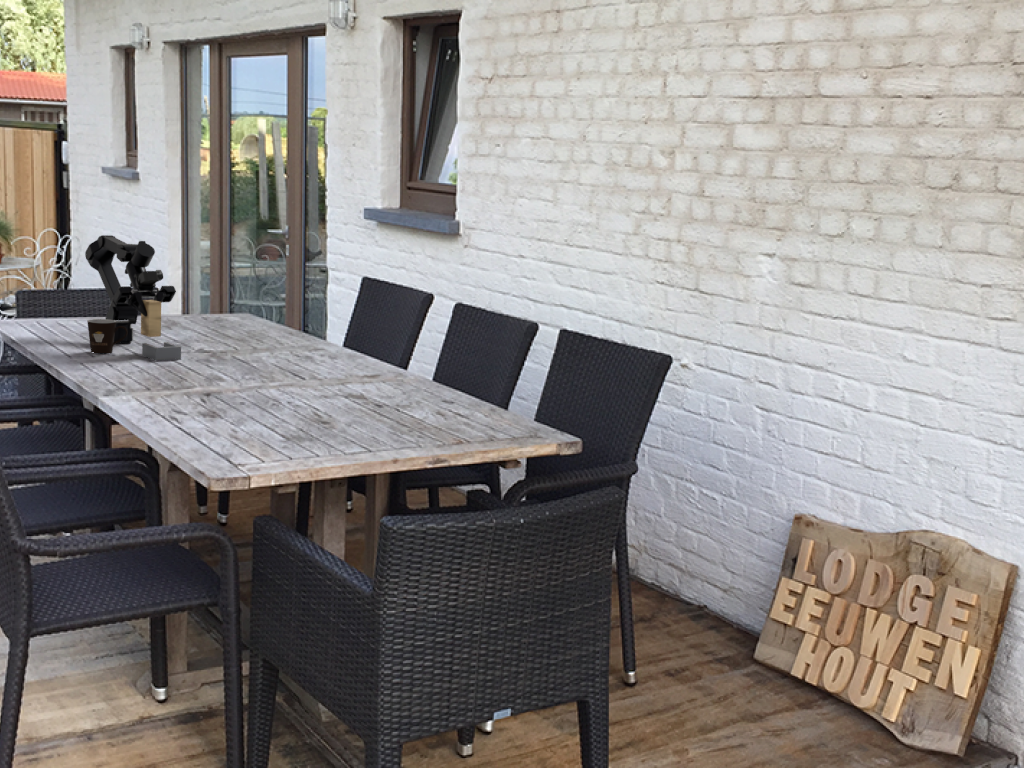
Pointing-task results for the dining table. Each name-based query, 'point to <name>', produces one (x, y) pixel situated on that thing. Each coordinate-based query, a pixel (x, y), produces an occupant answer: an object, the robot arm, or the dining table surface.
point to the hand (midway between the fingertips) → (152, 315)
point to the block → (151, 319)
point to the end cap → (161, 351)
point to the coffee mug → (103, 335)
